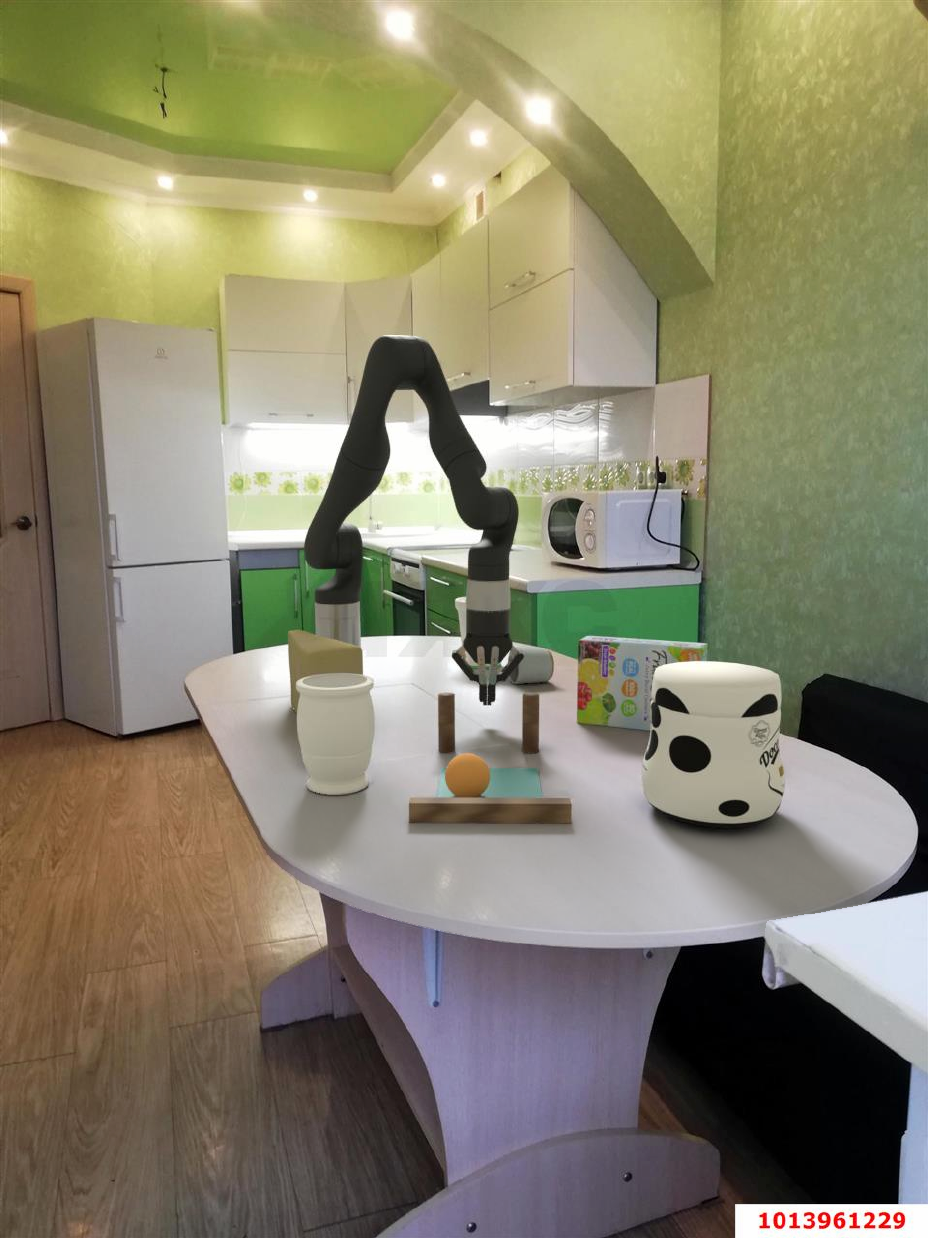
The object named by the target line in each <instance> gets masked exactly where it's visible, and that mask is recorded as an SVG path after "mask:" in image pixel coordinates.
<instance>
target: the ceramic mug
mask: <svg viewBox="0 0 928 1238" xmlns="http://www.w3.org/2000/svg"><path fill="white" fill-rule="evenodd" d="M514 647H515V648H517V649H518V650H521V651H522V652H523V654H524V658H523V660H522V661H521V662H520V663H519V665H518V666H517V667H516V668H515V669H514V671H513V672H512V673H511V674H510V675H509V677H508V678H509V680H510V682H511V683H512V684H513V683H514V684H513V685H525V684H524V683H528V684H539V683H540V682H542V683H547V682H548V681H550V680H551V679H552V677H553V675H554V670H555V661H554V656H553V654H552V652H551V651H550V650H549V649H547V648H543V647H517V646H514ZM510 653H511V652H510V651H509V652H508V654H509V655H510ZM509 655H508V658H507V663H508V662H509V661H510V657H509Z"/></svg>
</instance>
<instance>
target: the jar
mask: <svg viewBox="0 0 928 1238" xmlns="http://www.w3.org/2000/svg"><path fill="white" fill-rule="evenodd" d="M374 681H375V680H374V678H373V677H371V676H369V675H364V674H363V675H360V674H350V673H331V674H320V675H313V676H308V677H305V678H302V679H300V680H298V681H297V682H296V689H297V691H298V692H299V693H300V698H299V702H298V709H297V713H296V729H297V731H296V732H297V738H298V743H299V746H300V751H301V757H302V761H303V765H304V767H305V769H306V771H307V773H308V775H309V776H310V777H308V779H307V780H306V781H307V782H306V787H307V789H308V790H310V791H311V792H313V793H315V792H316V793H315V794H319V793H320V794H319V795H325V794H326V796H343V795H350V794H354V793H357V792H360V791H362V790H364V789H365V788H367V786H368V785H369V778H368V776H367V775H366V774H365V773H366V772H367V769H368V767H369V764H370V762H371V758H372V753H373V752H372V751H373V744H374V737H375V731H376V730H375V727H376V725H375V724H376V722H375V721H376V718H375V717H376V716H375V715H376V714H375V709H374V703H373V699H372V695H371V690H372V689H373V688H374V685H375V683H374Z"/></svg>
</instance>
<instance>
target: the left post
mask: <svg viewBox="0 0 928 1238" xmlns="http://www.w3.org/2000/svg"><path fill="white" fill-rule="evenodd" d="M455 697H456V694H455V693H453V692H440V693H438V694H437V728H438V733H437V735H438V737H437V739H438V741H437V742H438V743H437V744H438V749H437V751H438V752H439V753H443V754H451V753H454V752H455V751H456V711H455V710H456V706H455V705H456V701H455V700H456V699H455Z"/></svg>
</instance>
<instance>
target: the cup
mask: <svg viewBox="0 0 928 1238" xmlns="http://www.w3.org/2000/svg"><path fill="white" fill-rule="evenodd" d="M454 606H455V607H454V608H455V609H456V610H457V613H458V621H459V631H460V640H461V646H462V645H463V641H464V639H465V637H466V596H462V597H461V596H460V597H457V598H455V600H454ZM465 654H466V659H465V660H466V661H467V663H468V664H469V665H470V666H471V668H472V669H473V670H474V669H475V670H478V664H477V663H475V662H474V661H473V659H472V658H471V656H470V655H469V654H468V652H467V651H465ZM500 666H502V662H500V663H499V664H498V667H497V668H499V667H500ZM485 668H486V670H490V664H485Z"/></svg>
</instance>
